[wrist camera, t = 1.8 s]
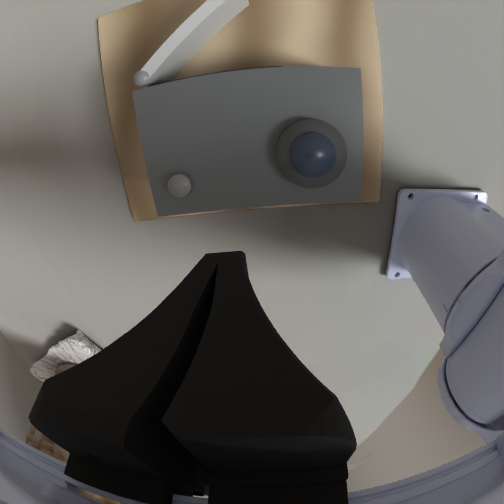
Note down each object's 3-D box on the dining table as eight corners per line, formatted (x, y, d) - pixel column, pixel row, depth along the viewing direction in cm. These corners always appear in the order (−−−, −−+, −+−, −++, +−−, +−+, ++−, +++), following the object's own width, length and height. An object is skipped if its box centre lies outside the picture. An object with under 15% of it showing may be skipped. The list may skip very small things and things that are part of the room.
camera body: (337, 71, 14) (365, 65, 10) (340, 176, 18) (365, 206, 14) (160, 88, 15) (125, 90, 11) (178, 189, 19) (153, 222, 14)
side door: (229, -9, 11) (221, -33, 8) (249, 5, 12) (246, -17, 8) (147, 73, 14) (119, 71, 11) (165, 87, 15) (140, 88, 11)
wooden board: (367, -15, 11) (369, -16, 10) (377, 200, 19) (379, 202, 19) (100, 19, 12) (97, 18, 12) (136, 219, 20) (134, 221, 20)
